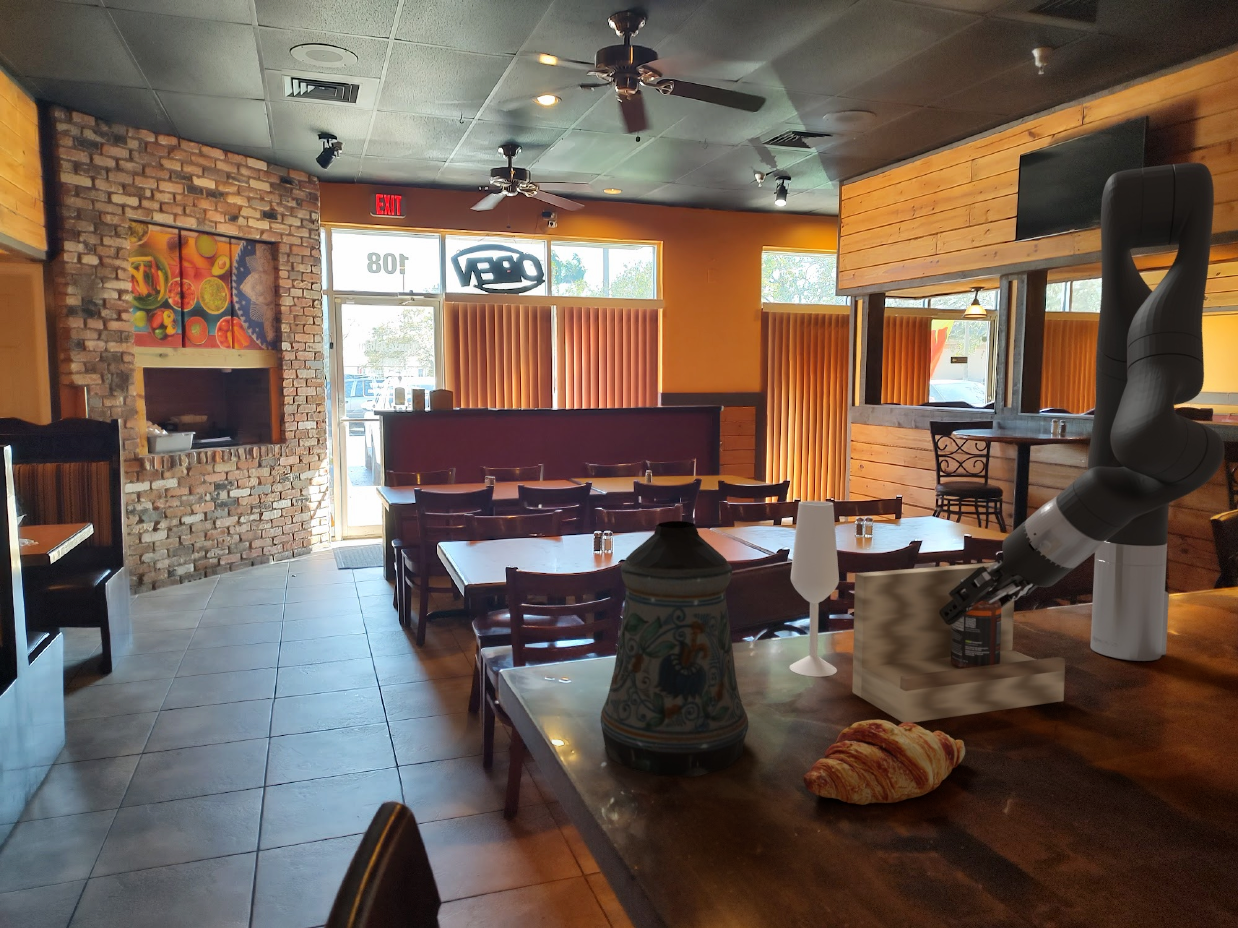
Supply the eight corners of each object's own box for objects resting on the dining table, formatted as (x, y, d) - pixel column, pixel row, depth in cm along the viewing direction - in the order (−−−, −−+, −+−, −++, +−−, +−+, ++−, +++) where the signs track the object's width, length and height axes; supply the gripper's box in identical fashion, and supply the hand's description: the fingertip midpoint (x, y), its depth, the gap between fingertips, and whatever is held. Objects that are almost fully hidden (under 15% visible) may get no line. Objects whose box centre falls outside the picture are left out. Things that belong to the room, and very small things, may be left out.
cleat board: (1000, 673, 118) (1004, 561, 117) (1063, 700, 108) (1068, 578, 106) (852, 692, 111) (855, 573, 109) (904, 723, 100) (908, 592, 99)
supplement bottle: (990, 659, 111) (994, 576, 110) (1006, 674, 106) (1010, 586, 105) (944, 658, 112) (947, 575, 111) (957, 673, 106) (961, 585, 105)
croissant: (938, 782, 93) (914, 709, 96) (1011, 772, 85) (982, 693, 88) (788, 825, 83) (766, 742, 86) (855, 819, 75) (828, 728, 77)
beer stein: (623, 787, 84) (622, 542, 82) (580, 715, 103) (579, 514, 101) (773, 767, 89) (776, 534, 87) (706, 702, 107) (707, 509, 105)
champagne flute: (837, 663, 123) (840, 500, 121) (837, 678, 116) (840, 507, 114) (790, 659, 124) (792, 499, 122) (788, 674, 118) (790, 505, 116)
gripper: (1066, 510, 105) (980, 583, 115) (998, 520, 97) (913, 597, 108) (1108, 559, 101) (1015, 630, 111) (1040, 573, 93) (947, 647, 104)
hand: (965, 613), depth 109 cm, fingers open, 8 cm apart
